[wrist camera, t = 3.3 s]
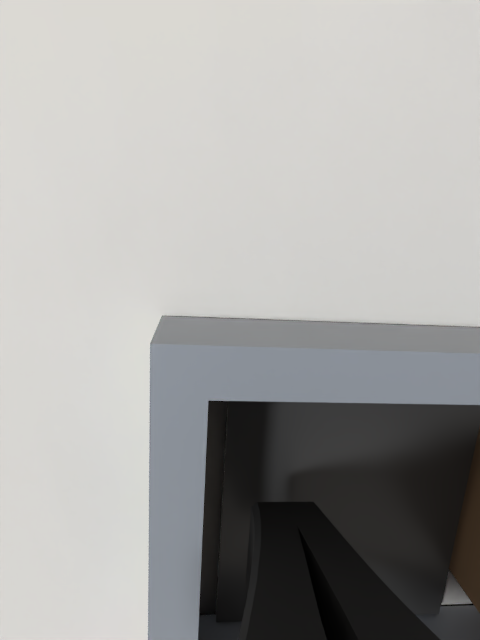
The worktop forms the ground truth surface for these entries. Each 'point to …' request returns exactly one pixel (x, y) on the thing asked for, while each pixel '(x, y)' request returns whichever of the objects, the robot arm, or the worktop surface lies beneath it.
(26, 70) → the worktop surface
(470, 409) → the grey shallow rectangular tray
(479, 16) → the worktop surface
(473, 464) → the block
